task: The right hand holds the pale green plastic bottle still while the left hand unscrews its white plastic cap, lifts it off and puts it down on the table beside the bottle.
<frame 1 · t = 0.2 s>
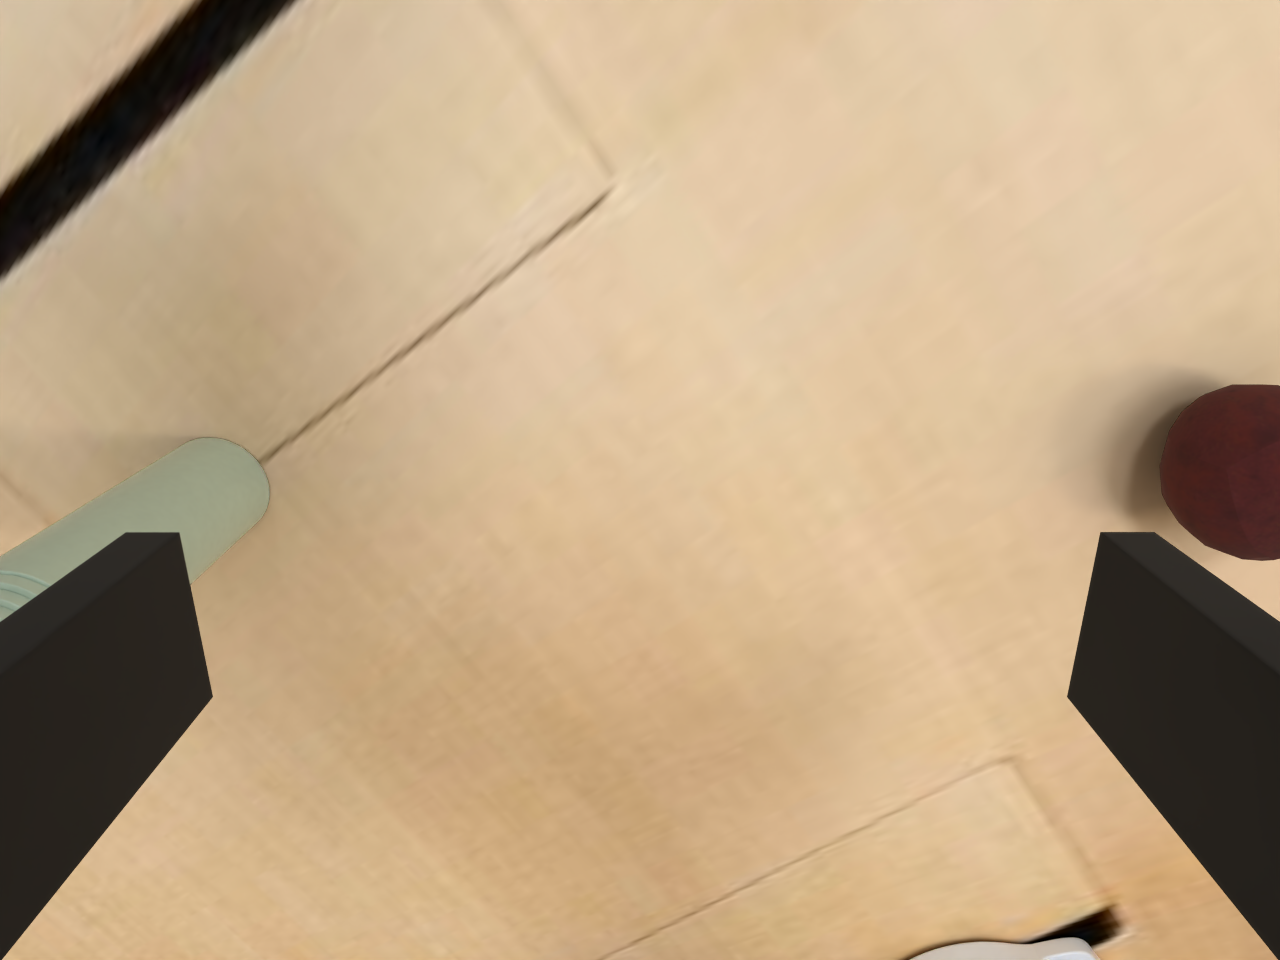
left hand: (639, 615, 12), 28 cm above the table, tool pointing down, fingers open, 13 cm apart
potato: (1203, 443, 41), on the table
bottle: (218, 486, 42), on the table
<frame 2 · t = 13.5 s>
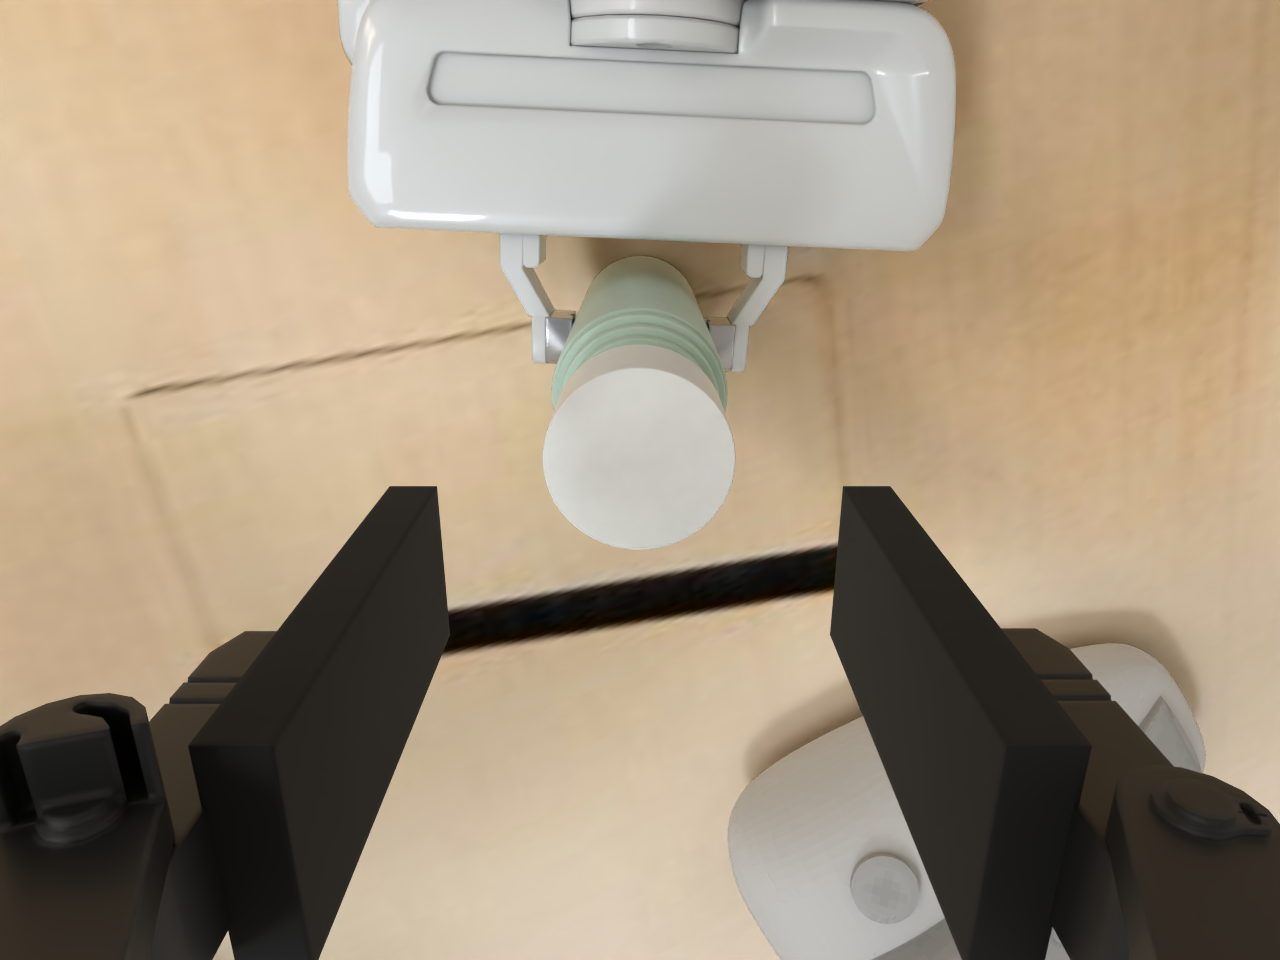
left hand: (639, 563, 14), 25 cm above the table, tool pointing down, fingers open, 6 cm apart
right hand: (639, 365, 32), fingers closed on bottle, 5 cm apart
cap: (639, 458, 19), point 20 cm above the table, screwed on, not yet turned
projector: (949, 771, 46), on the table
bottle: (639, 314, 38), on the table, touching right hand
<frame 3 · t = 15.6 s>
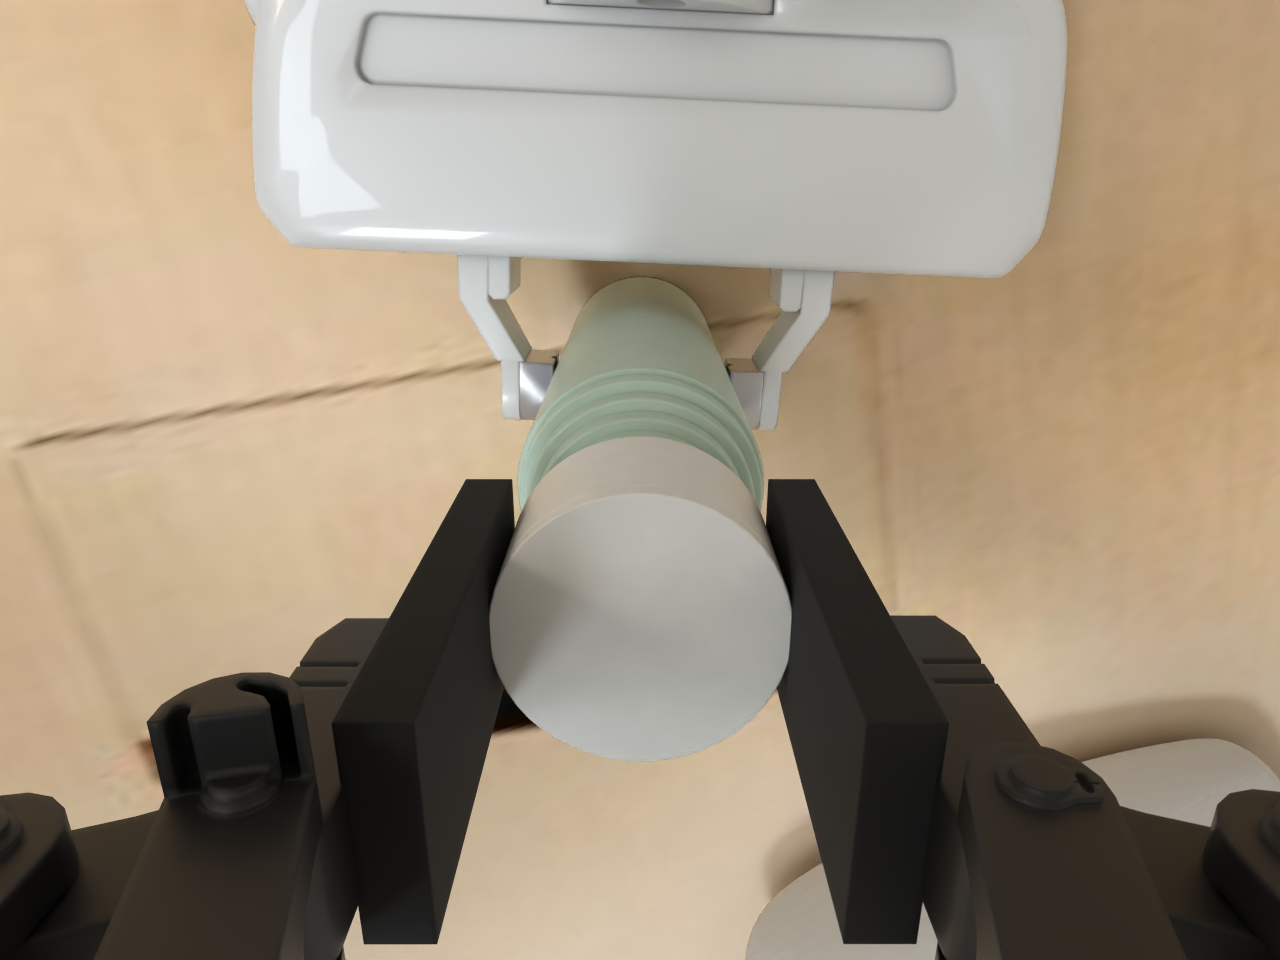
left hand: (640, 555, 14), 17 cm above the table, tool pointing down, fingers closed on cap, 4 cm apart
right hand: (640, 420, 25), fingers closed on bottle, 5 cm apart
cap: (640, 625, 12), point 20 cm above the table, screwed on, not yet turned, touching left hand
projector: (1005, 879, 39), on the table
bottle: (640, 347, 31), on the table, touching right hand
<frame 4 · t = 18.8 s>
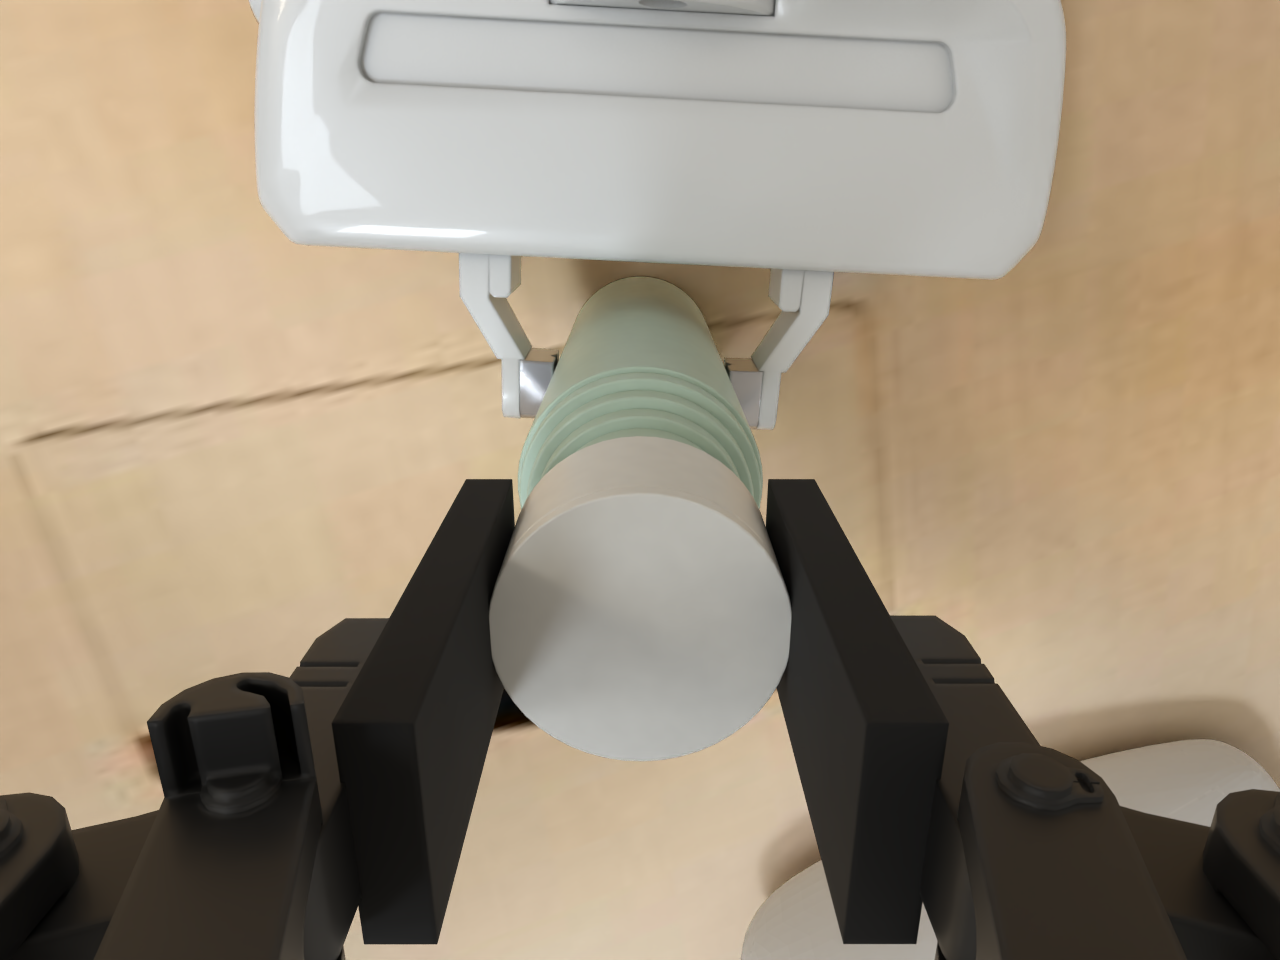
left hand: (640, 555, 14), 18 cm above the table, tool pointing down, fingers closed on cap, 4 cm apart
right hand: (640, 419, 25), fingers closed on bottle, 5 cm apart
cap: (640, 625, 12), point 20 cm above the table, turned 104° so far, risen 0.1 cm, still on its thread, touching left hand
projector: (1000, 879, 39), on the table
bottle: (640, 347, 31), on the table, touching right hand
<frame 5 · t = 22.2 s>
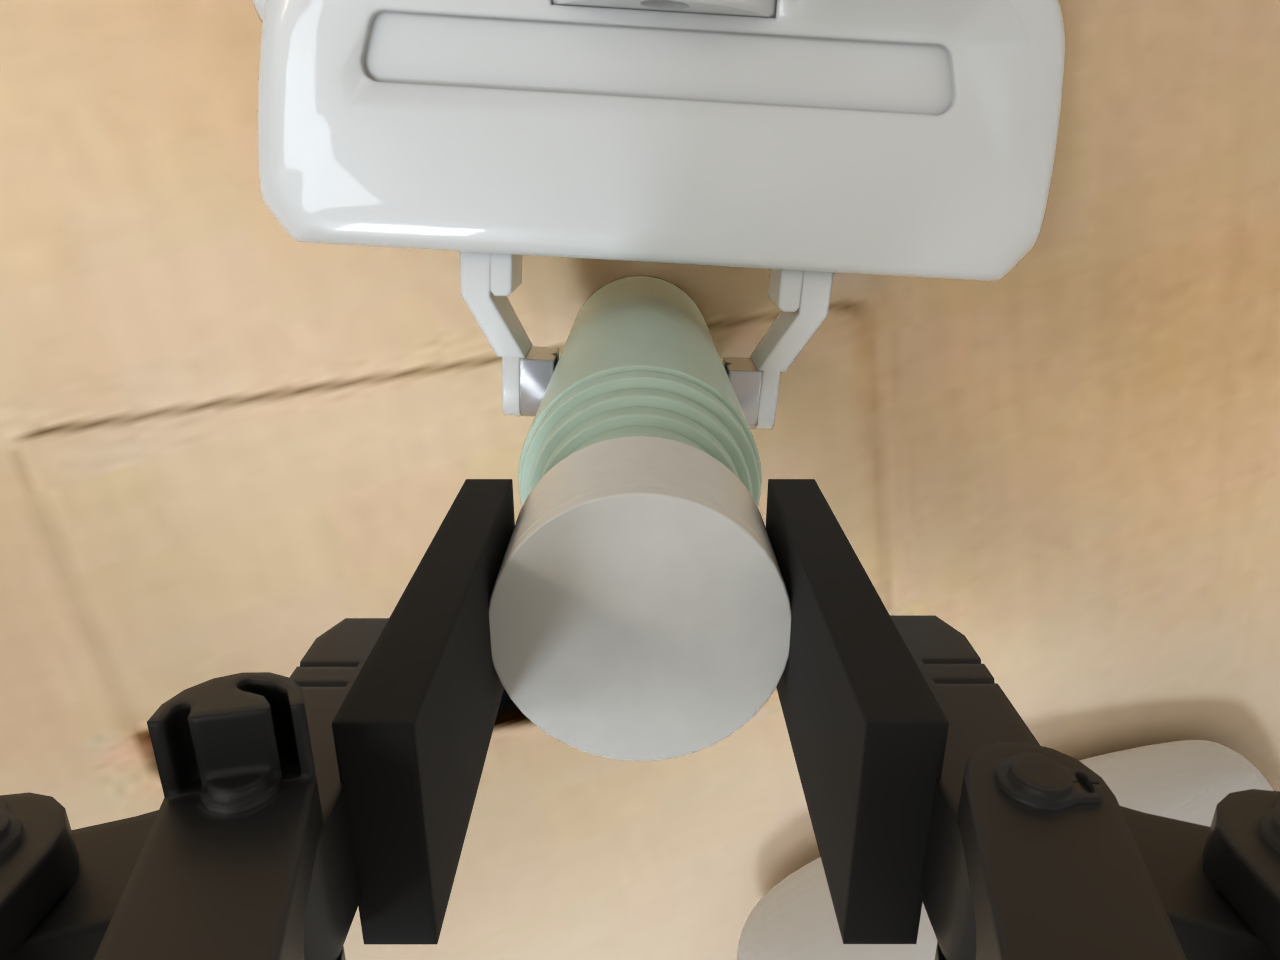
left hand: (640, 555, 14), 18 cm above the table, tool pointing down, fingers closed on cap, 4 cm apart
right hand: (639, 418, 25), fingers closed on bottle, 5 cm apart
cap: (639, 625, 12), point 20 cm above the table, turned 208° so far, risen 0.2 cm, still on its thread, touching left hand
projector: (995, 878, 40), on the table
bottle: (639, 346, 31), on the table, touching right hand
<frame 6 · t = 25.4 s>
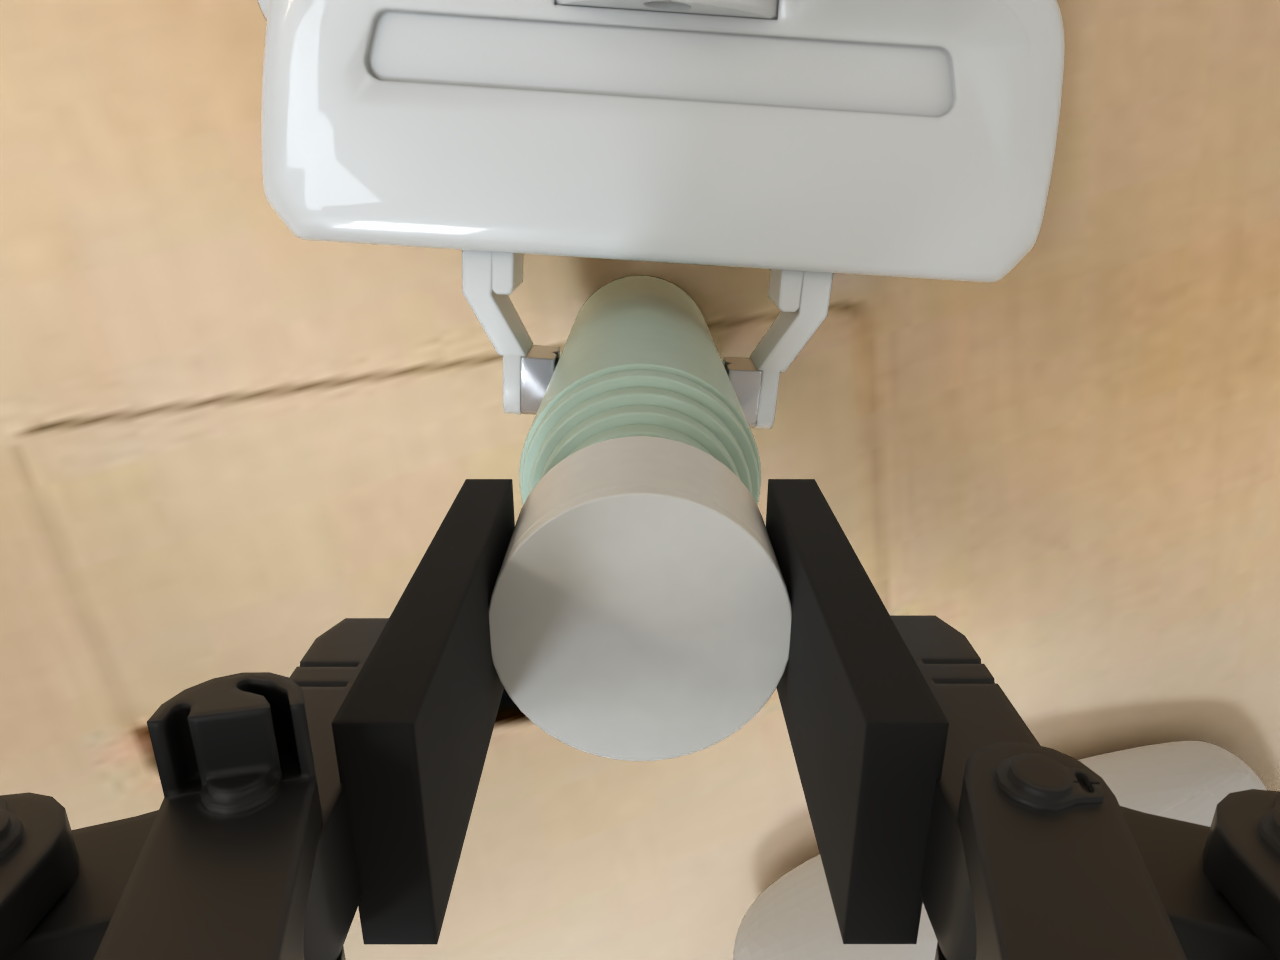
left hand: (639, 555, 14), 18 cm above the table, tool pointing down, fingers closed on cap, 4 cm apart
right hand: (639, 416, 26), fingers closed on bottle, 5 cm apart
cap: (640, 625, 12), point 20 cm above the table, turned 311° so far, risen 0.4 cm, still on its thread, touching left hand
projector: (991, 878, 40), on the table
bottle: (640, 345, 31), on the table, touching right hand
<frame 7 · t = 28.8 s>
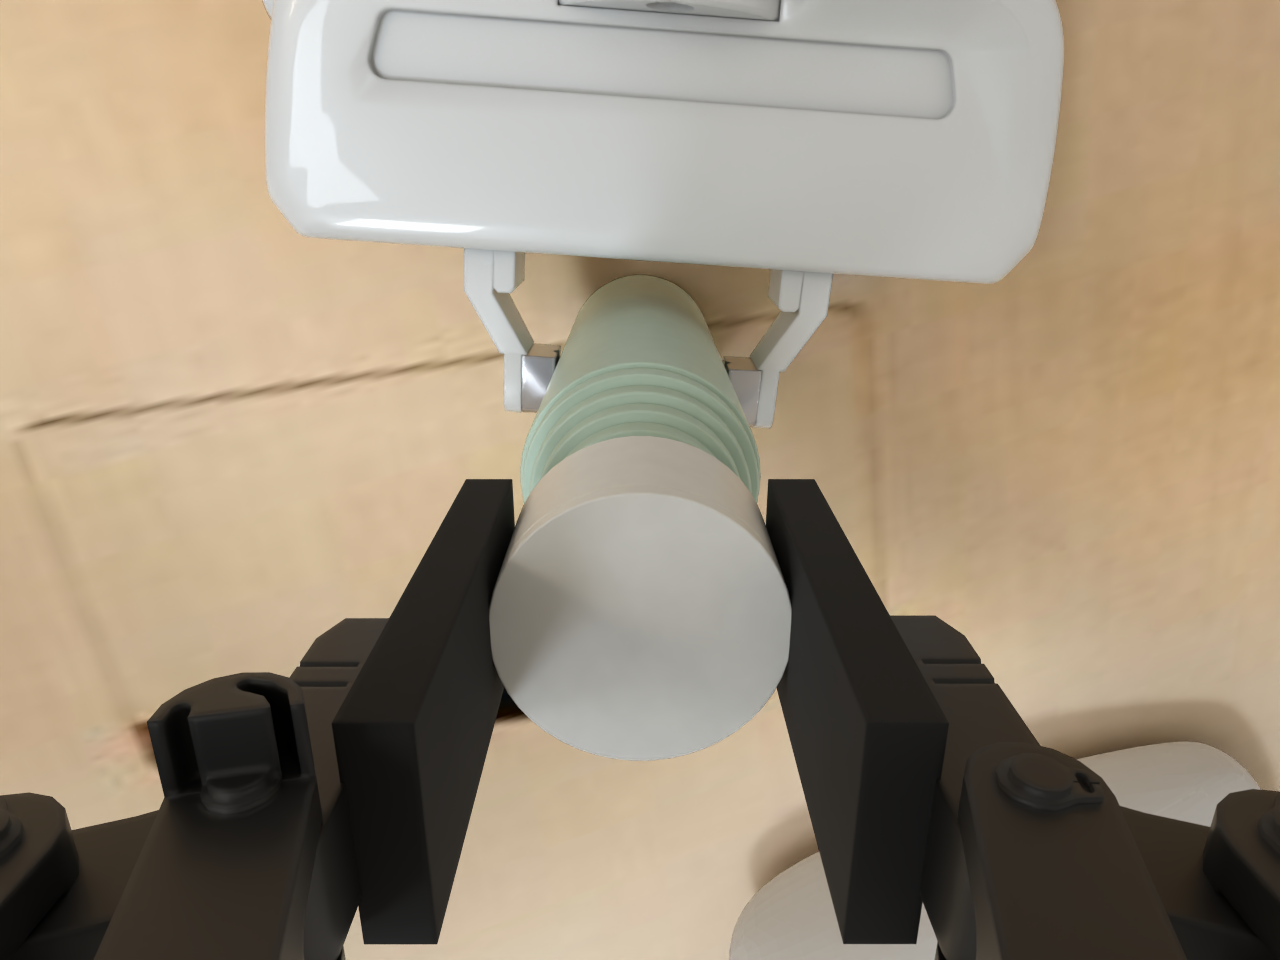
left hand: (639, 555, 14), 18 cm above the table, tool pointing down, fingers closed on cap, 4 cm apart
right hand: (639, 415, 26), fingers closed on bottle, 5 cm apart
cap: (640, 624, 12), point 20 cm above the table, turned 415° so far, risen 0.5 cm, still on its thread, touching left hand
projector: (986, 877, 40), on the table
bottle: (640, 344, 31), on the table, touching right hand
when the left hand's fingers open (2 cm above the table, at t = 35.9 s): cap drops 2 cm, point 2 cm above the table.
when the right hand's fingers open (6 cm above the table, at t = 37.2 s): bottle stays where it is, on the table.
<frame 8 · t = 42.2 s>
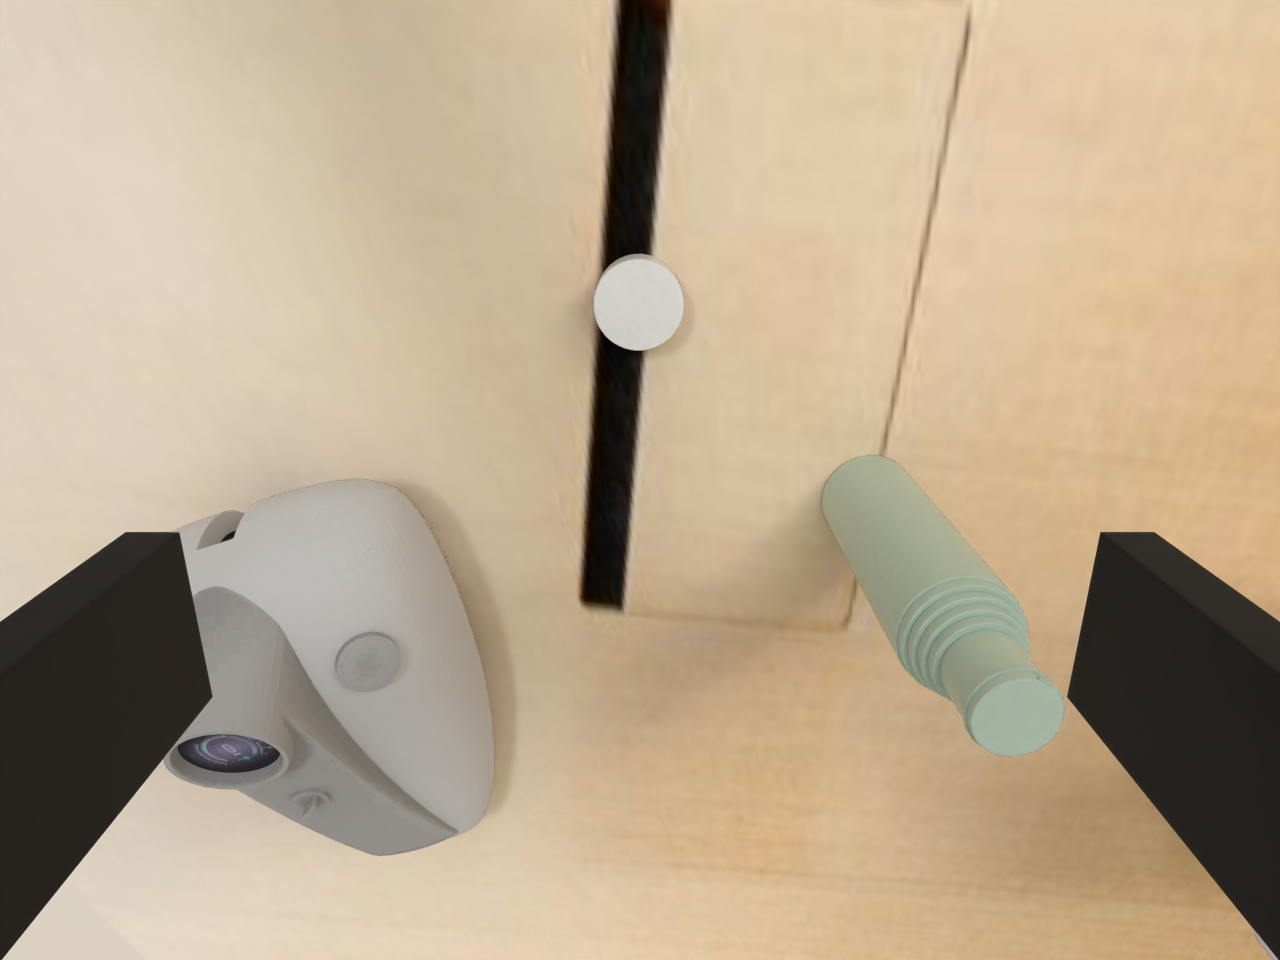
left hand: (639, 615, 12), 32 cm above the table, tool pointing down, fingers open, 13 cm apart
cap: (638, 304, 41), point 2 cm above the table, off its thread
projector: (369, 654, 50), on the table
bottle: (867, 498, 46), on the table
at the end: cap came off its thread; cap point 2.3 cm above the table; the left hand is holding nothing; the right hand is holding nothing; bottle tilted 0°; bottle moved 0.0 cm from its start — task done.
